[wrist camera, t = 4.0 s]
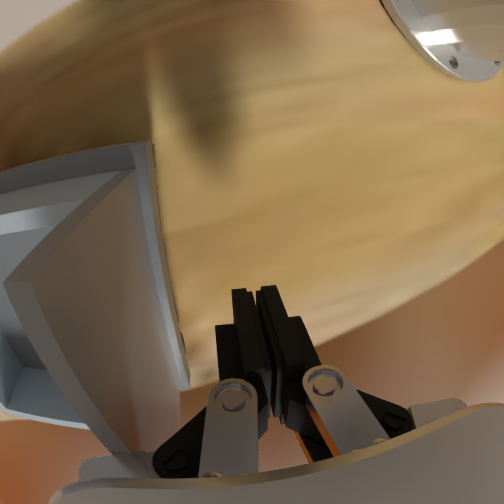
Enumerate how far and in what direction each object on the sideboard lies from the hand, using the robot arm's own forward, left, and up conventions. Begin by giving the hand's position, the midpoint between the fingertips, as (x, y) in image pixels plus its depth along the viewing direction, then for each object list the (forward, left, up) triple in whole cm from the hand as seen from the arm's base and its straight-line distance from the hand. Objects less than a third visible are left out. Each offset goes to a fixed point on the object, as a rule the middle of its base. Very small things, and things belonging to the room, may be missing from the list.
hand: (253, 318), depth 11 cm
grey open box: (+1, -9, -6) cm, 11 cm away
